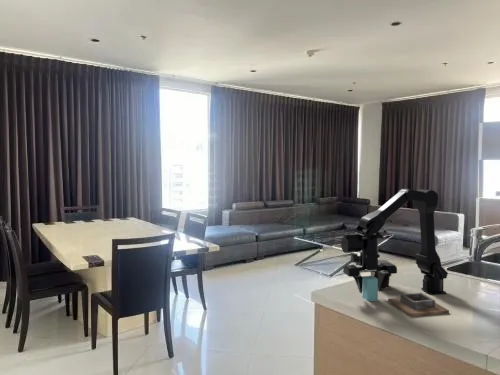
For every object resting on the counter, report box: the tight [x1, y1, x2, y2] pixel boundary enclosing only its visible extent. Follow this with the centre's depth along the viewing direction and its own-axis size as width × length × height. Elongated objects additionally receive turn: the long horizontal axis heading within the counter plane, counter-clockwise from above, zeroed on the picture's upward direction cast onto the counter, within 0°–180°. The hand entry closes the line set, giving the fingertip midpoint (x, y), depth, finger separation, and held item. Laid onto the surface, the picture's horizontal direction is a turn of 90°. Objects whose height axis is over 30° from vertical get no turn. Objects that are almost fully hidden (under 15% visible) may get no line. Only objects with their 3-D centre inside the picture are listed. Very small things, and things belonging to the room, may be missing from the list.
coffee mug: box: [369, 258, 392, 289], centre depth 155 cm, size 12×9×10 cm
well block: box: [387, 292, 450, 318], centre depth 131 cm, size 14×14×4 cm
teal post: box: [362, 275, 379, 302], centre depth 140 cm, size 4×4×8 cm
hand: (370, 292), depth 140 cm, fingers open, 7 cm apart
